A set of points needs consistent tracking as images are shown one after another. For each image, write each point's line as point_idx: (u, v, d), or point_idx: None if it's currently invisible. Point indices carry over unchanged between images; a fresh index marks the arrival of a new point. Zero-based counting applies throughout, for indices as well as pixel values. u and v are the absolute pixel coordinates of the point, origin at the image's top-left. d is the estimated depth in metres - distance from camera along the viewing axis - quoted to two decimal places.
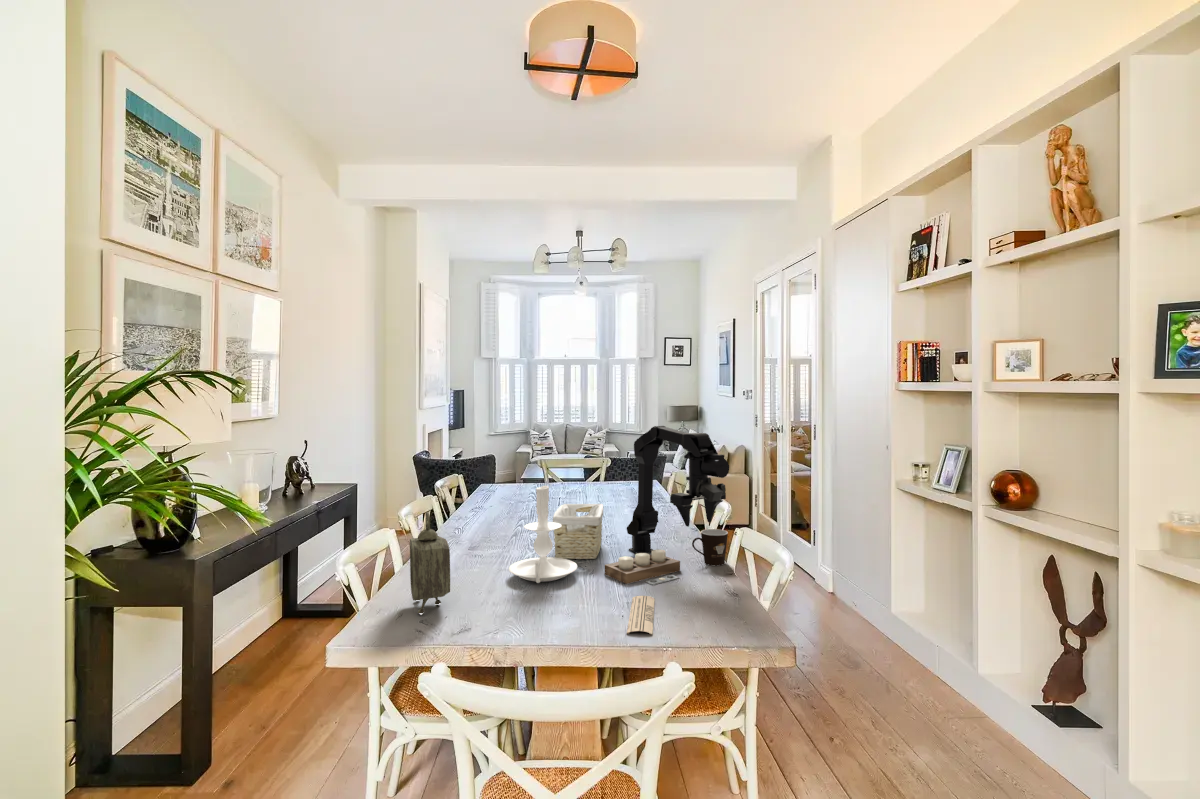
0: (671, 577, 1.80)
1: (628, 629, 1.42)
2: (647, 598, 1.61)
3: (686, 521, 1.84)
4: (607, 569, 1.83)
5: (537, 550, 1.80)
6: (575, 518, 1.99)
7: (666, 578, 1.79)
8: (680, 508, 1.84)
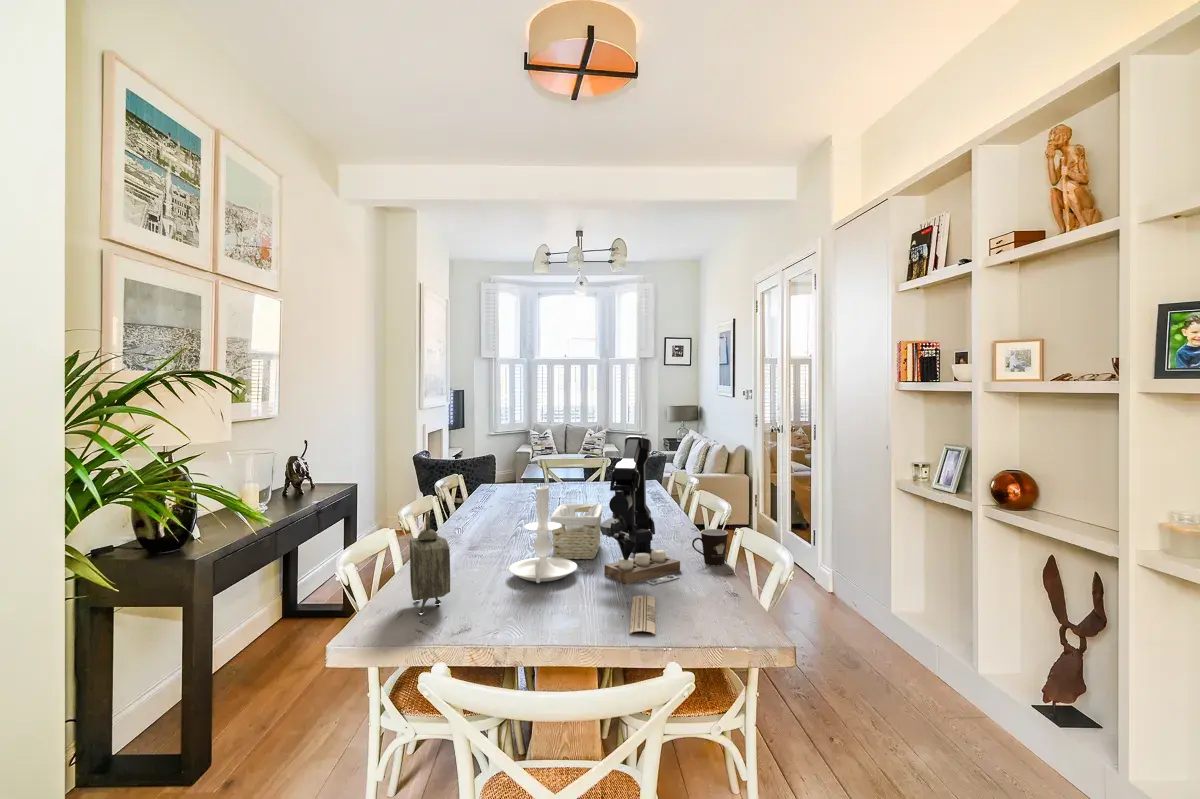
0: (671, 577, 1.80)
1: (631, 629, 1.42)
2: (647, 598, 1.61)
3: None
4: (607, 569, 1.83)
5: (537, 550, 1.80)
6: (573, 518, 1.99)
7: (666, 578, 1.79)
8: None
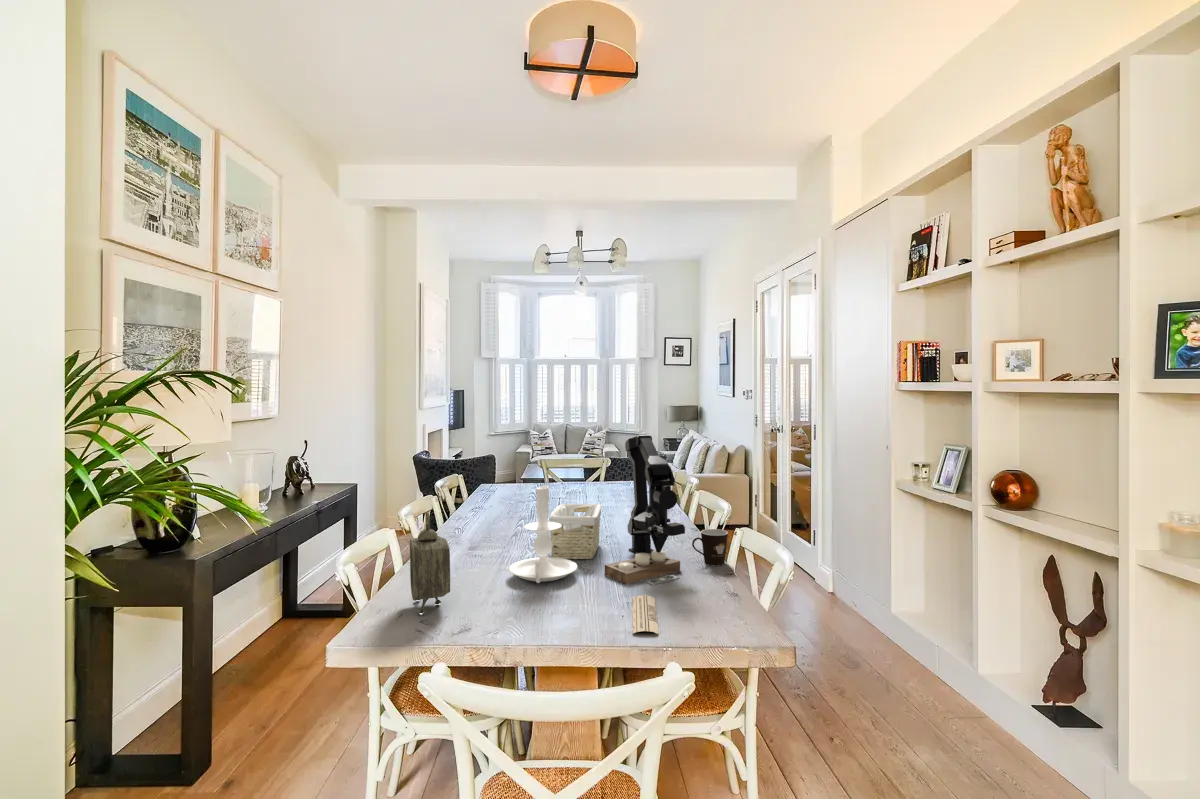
0: (671, 577, 1.80)
1: (633, 630, 1.41)
2: (647, 598, 1.61)
3: None
4: (607, 569, 1.83)
5: (537, 550, 1.80)
6: (571, 518, 1.99)
7: (666, 578, 1.79)
8: None
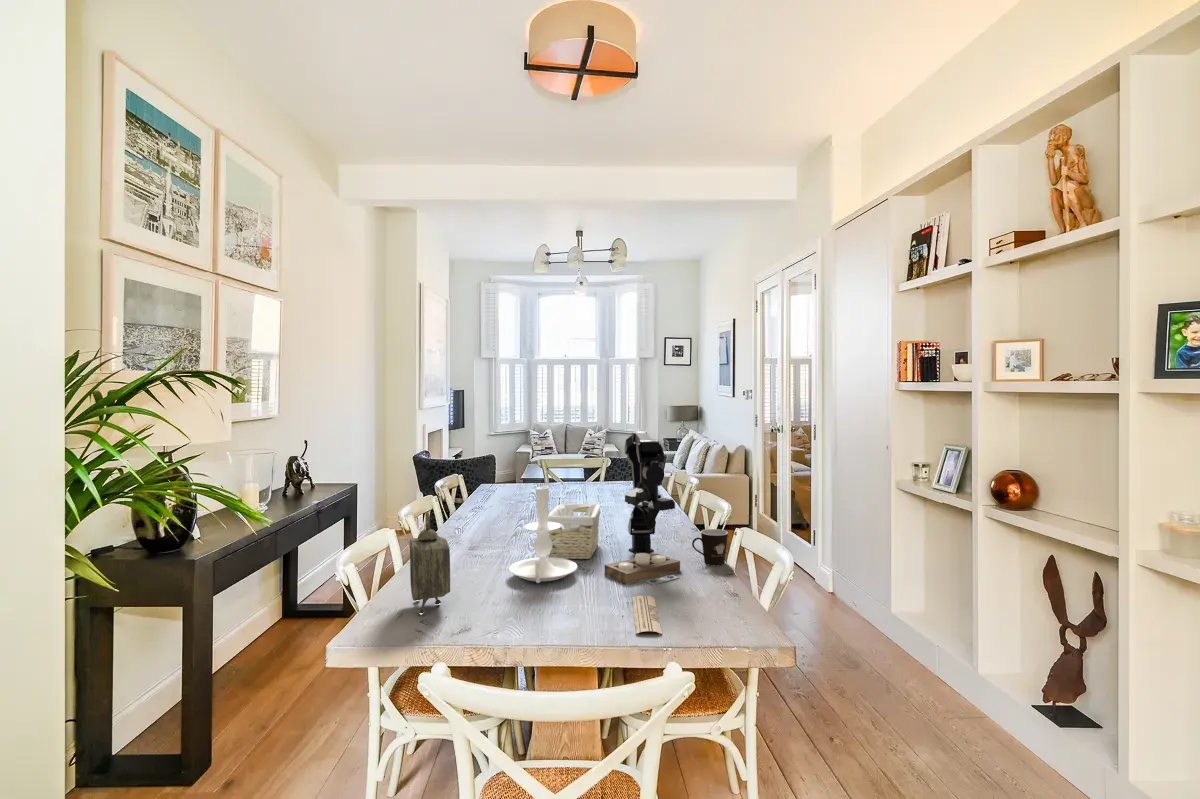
0: (671, 577, 1.80)
1: (637, 630, 1.41)
2: (647, 598, 1.61)
3: None
4: (607, 569, 1.83)
5: (537, 550, 1.80)
6: (569, 518, 1.99)
7: (666, 578, 1.79)
8: None
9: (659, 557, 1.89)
